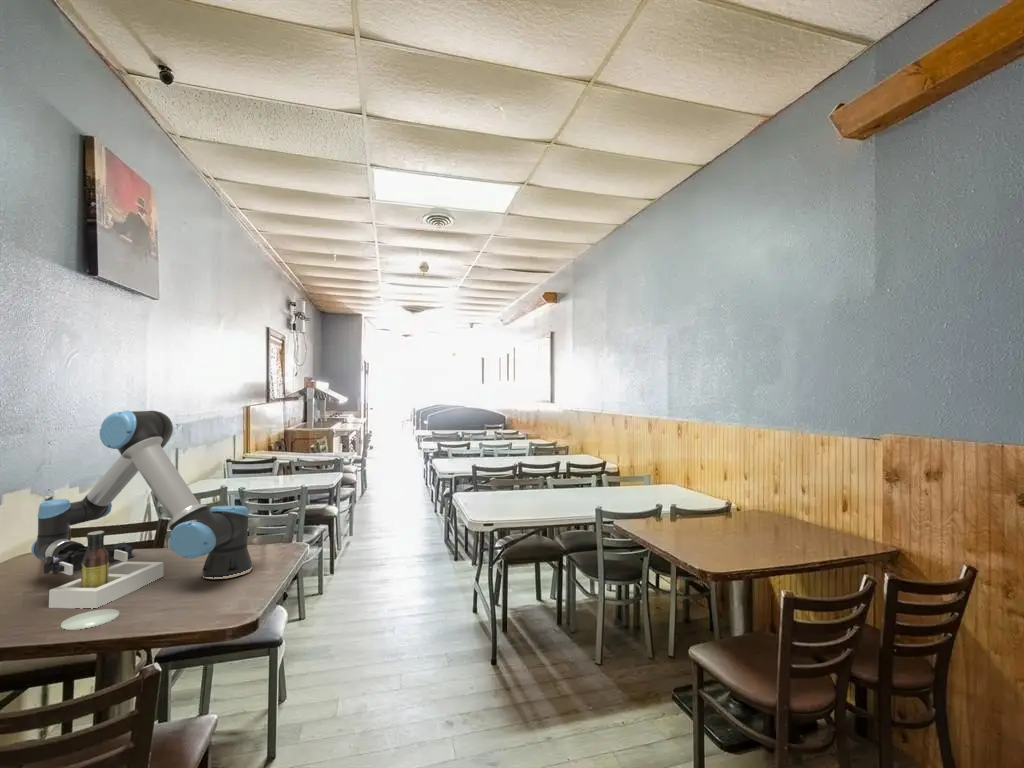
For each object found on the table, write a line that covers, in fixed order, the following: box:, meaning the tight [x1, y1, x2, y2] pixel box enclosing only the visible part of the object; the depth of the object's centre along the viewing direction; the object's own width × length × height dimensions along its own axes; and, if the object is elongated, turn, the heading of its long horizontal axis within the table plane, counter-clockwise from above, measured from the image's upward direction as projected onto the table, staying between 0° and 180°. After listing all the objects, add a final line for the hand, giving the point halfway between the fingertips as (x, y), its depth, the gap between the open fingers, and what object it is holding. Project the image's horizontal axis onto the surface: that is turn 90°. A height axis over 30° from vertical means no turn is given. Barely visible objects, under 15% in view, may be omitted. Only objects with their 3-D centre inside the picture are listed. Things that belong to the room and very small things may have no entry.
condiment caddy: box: [48, 561, 165, 610], centre depth 153 cm, size 14×26×5 cm, turn 178°
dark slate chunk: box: [73, 541, 136, 572], centre depth 182 cm, size 15×22×5 cm
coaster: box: [60, 608, 120, 631], centre depth 133 cm, size 12×12×1 cm
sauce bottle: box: [80, 530, 110, 588], centre depth 148 cm, size 7×6×20 cm
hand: (100, 563), depth 146 cm, fingers open, 13 cm apart
